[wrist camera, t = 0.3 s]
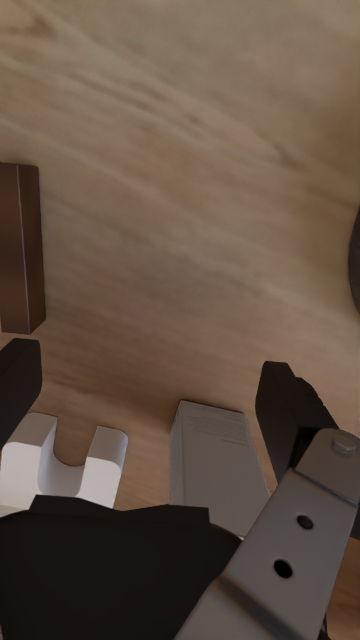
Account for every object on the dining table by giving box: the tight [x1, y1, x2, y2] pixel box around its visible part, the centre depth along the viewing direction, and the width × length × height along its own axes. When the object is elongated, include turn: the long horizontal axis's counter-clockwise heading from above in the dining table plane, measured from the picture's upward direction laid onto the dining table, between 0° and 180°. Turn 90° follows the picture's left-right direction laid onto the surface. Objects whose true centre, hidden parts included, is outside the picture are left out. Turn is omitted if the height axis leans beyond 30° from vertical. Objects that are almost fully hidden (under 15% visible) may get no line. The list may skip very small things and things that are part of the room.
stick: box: [0, 162, 46, 335], centre depth 23 cm, size 11×2×3 cm, turn 174°
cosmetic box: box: [168, 400, 271, 540], centre depth 24 cm, size 6×4×12 cm
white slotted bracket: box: [0, 412, 128, 517], centre depth 28 cm, size 10×18×11 cm, turn 165°
